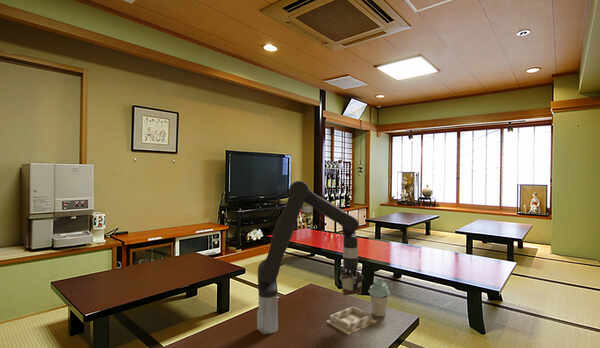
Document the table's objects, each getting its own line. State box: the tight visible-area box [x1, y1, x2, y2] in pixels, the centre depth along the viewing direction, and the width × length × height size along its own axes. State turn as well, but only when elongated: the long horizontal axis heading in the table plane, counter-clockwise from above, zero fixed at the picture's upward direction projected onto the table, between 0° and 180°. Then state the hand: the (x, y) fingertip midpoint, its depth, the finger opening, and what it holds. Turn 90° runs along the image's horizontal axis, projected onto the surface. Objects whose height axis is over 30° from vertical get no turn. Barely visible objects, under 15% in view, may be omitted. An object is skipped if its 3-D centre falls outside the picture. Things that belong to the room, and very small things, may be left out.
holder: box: [325, 306, 378, 335], centre depth 159 cm, size 20×16×4 cm
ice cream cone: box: [368, 277, 391, 317], centre depth 168 cm, size 10×11×20 cm
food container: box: [339, 272, 364, 297], centre depth 160 cm, size 12×6×10 cm, turn 105°
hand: (350, 288), depth 159 cm, fingers closed on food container, 6 cm apart
